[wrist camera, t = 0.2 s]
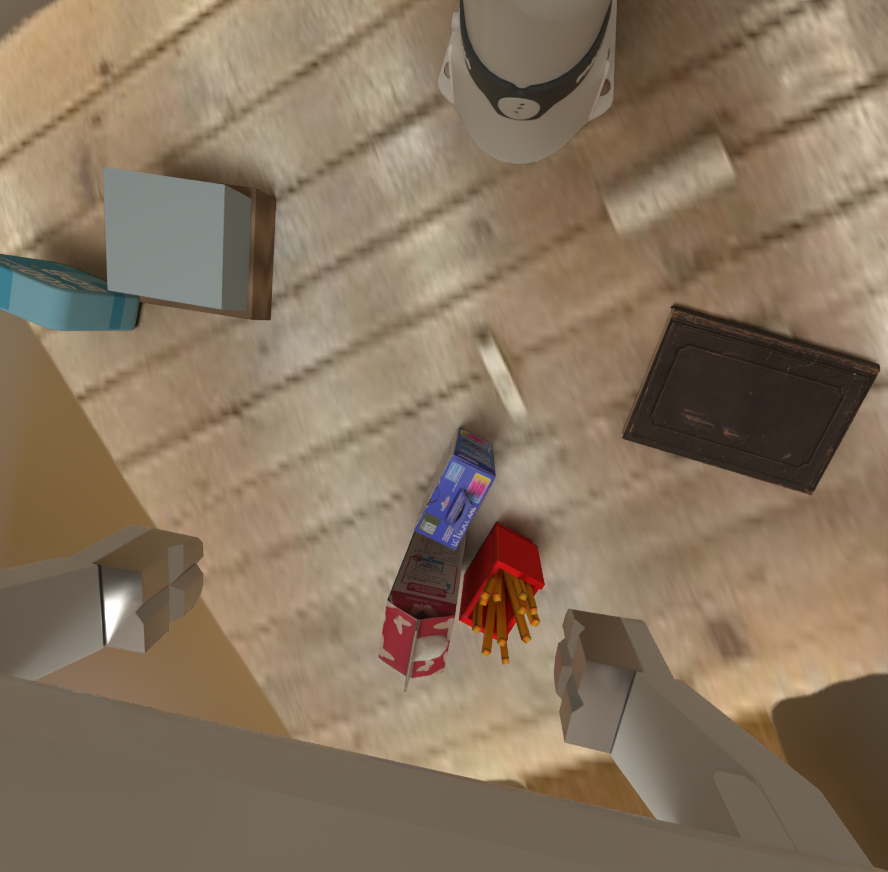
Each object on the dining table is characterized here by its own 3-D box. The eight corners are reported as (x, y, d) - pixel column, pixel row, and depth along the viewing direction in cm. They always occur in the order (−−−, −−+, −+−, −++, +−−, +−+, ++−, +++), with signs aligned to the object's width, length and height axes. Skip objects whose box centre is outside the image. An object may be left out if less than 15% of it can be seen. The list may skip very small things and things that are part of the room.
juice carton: (466, 528, 60) (451, 639, 39) (458, 571, 62) (439, 700, 40) (419, 518, 60) (378, 622, 39) (412, 561, 62) (369, 683, 41)
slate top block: (141, 182, 49) (103, 166, 45) (251, 198, 48) (224, 184, 44) (143, 293, 52) (107, 290, 48) (247, 311, 51) (221, 309, 47)
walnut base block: (168, 186, 54) (136, 172, 49) (277, 201, 53) (256, 188, 48) (169, 304, 57) (140, 301, 53) (272, 320, 56) (251, 319, 52)
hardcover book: (799, 488, 54) (812, 495, 52) (617, 434, 55) (622, 438, 53) (866, 362, 50) (883, 364, 48) (669, 306, 51) (677, 305, 49)
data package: (147, 297, 57) (58, 290, 46) (140, 331, 58) (53, 331, 47) (62, 262, 57) (-47, 246, 46) (58, 296, 58) (-50, 288, 47)
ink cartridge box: (463, 508, 59) (453, 564, 45) (426, 490, 59) (405, 540, 45) (497, 445, 57) (497, 484, 43) (458, 426, 57) (446, 458, 43)
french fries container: (540, 544, 59) (553, 608, 46) (506, 595, 62) (510, 671, 48) (494, 519, 59) (494, 576, 46) (462, 572, 62) (453, 641, 48)
